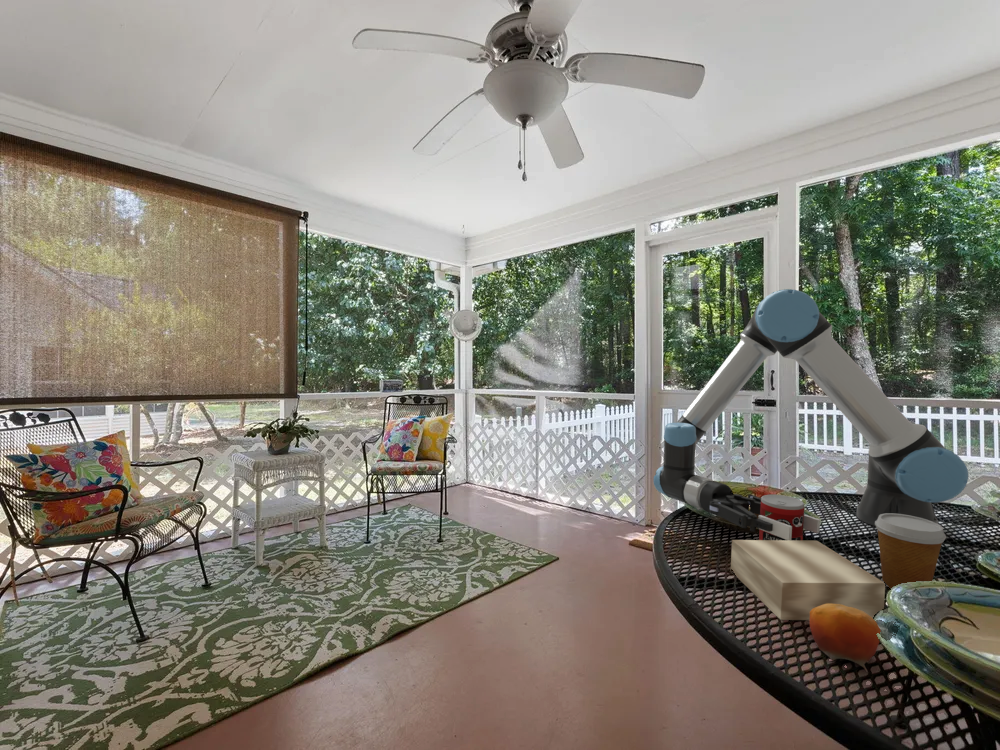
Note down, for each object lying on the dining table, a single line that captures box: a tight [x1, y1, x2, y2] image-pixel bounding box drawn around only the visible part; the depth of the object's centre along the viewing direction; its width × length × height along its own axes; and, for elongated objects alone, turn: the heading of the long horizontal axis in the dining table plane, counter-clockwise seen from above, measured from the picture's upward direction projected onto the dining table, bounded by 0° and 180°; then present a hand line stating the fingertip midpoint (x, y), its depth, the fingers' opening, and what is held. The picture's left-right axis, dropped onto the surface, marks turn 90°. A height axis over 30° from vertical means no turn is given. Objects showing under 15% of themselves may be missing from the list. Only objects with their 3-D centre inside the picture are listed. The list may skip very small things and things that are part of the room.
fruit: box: [809, 603, 882, 674], centre depth 66 cm, size 8×8×8 cm
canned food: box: [758, 493, 805, 540], centre depth 98 cm, size 8×8×11 cm
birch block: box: [730, 539, 886, 621], centre depth 82 cm, size 16×16×6 cm
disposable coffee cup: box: [875, 513, 947, 589], centre depth 84 cm, size 10×10×12 cm
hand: (804, 529), depth 94 cm, fingers closed on canned food, 8 cm apart
